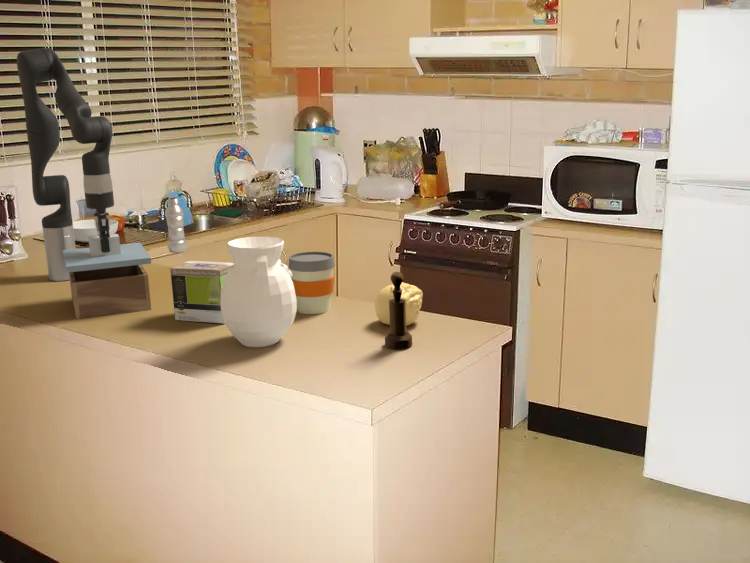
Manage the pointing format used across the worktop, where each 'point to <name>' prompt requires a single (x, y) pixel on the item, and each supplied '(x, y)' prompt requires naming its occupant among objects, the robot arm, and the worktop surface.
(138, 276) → the box
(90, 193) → the robot arm
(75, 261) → the lid
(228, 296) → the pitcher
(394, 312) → the dark brown tall piece
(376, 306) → the sculpture
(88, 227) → the serving bowl
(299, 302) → the reusable coffee cup
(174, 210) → the plastic bottle
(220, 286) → the tea box
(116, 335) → the worktop surface
